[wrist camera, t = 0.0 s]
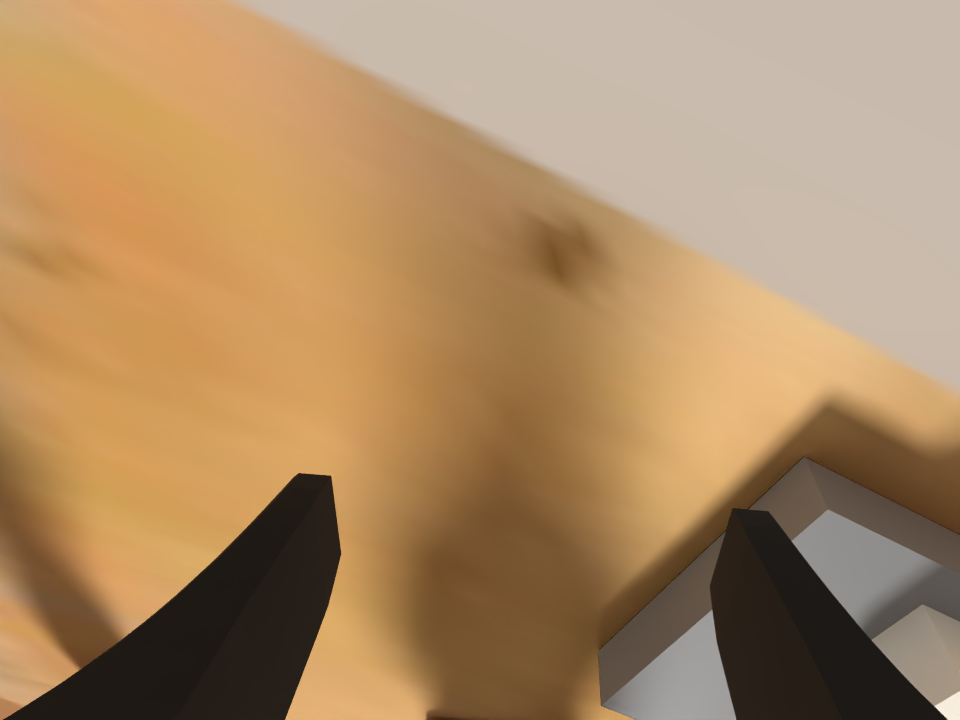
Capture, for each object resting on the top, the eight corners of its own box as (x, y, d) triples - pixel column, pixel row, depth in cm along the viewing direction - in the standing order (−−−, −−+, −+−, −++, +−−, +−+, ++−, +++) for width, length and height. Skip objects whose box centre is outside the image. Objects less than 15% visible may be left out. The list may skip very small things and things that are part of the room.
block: (837, 663, 25) (868, 745, 23) (922, 604, 23) (966, 686, 21) (922, 701, 26) (960, 784, 24) (1011, 646, 24) (1064, 731, 22)
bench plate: (598, 651, 30) (600, 705, 28) (804, 456, 24) (828, 509, 22) (817, 742, 32) (835, 799, 30) (1064, 587, 26) (1109, 647, 24)
